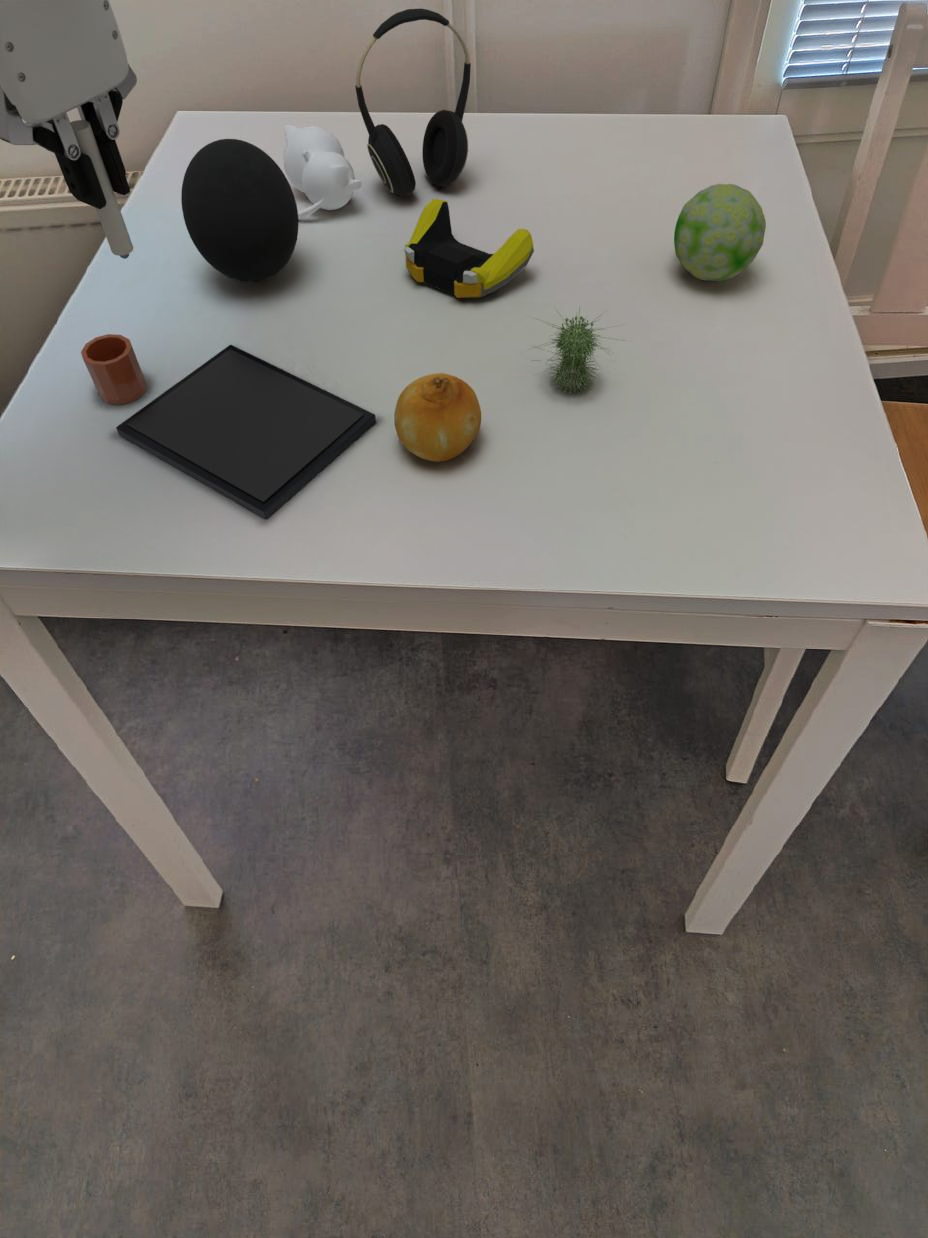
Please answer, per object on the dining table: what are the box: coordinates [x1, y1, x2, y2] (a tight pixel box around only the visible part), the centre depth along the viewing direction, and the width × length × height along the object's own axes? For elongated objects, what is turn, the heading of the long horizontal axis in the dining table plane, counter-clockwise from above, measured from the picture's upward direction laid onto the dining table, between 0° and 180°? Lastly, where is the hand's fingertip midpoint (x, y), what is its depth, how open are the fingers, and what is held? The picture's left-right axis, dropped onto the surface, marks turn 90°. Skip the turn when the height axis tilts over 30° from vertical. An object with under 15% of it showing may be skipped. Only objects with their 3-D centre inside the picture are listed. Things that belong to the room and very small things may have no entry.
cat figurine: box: [282, 124, 363, 221], centre depth 107 cm, size 9×11×12 cm
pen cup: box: [80, 333, 148, 405], centre depth 86 cm, size 5×5×5 cm
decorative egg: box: [180, 138, 299, 283], centre depth 94 cm, size 12×12×15 cm
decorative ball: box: [673, 183, 767, 282], centre depth 95 cm, size 10×10×10 cm
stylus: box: [70, 119, 134, 260], centre depth 68 cm, size 2×2×11 cm
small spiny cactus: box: [520, 307, 633, 394], centre depth 84 cm, size 12×12×8 cm
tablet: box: [115, 344, 377, 520], centre depth 84 cm, size 16×20×1 cm
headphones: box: [354, 7, 472, 197], centre depth 103 cm, size 9×15×20 cm, turn 115°
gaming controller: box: [403, 198, 535, 299], centre depth 97 cm, size 15×6×10 cm
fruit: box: [393, 372, 482, 462], centre depth 80 cm, size 8×8×8 cm
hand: (102, 194), depth 68 cm, fingers closed on stylus, 1 cm apart
